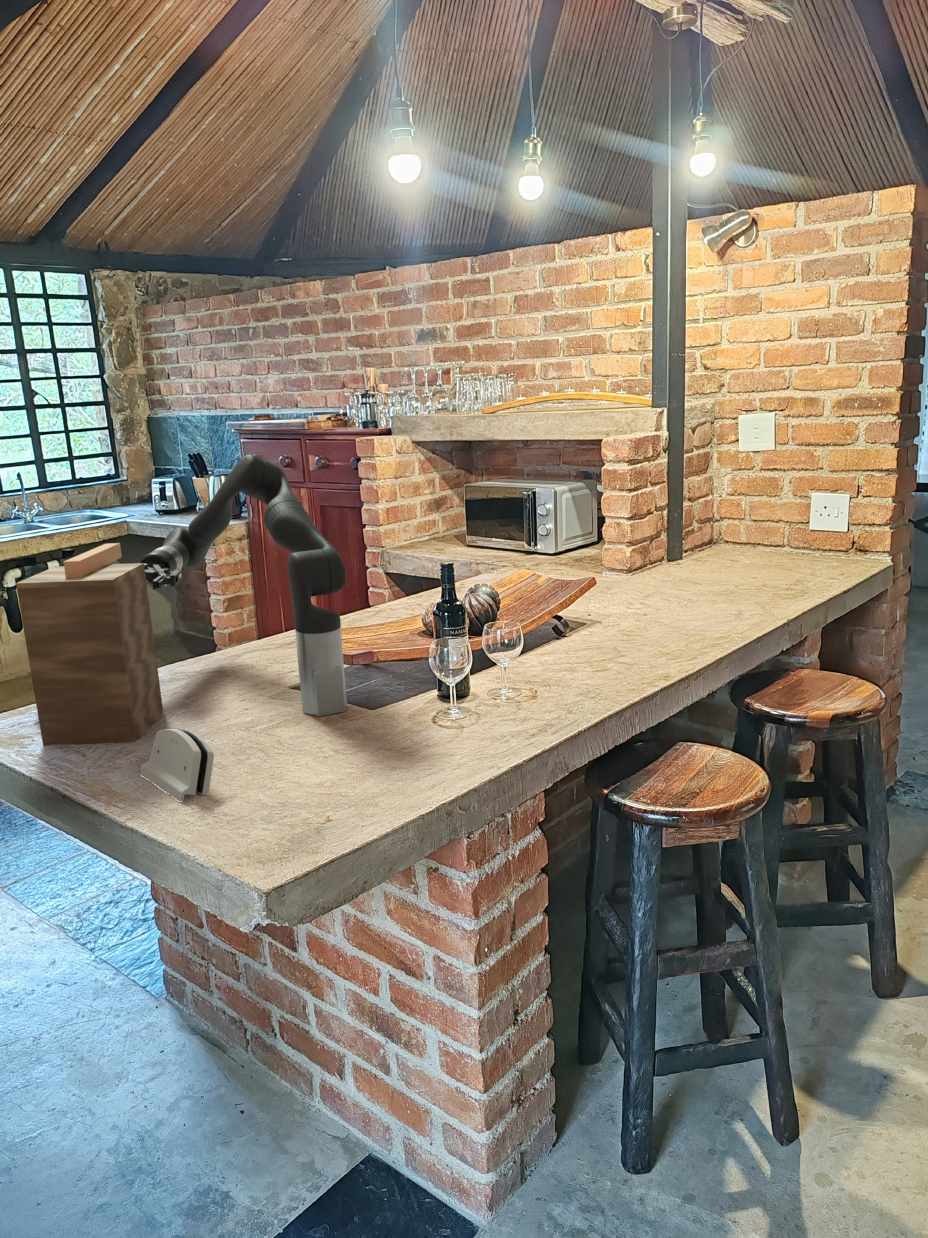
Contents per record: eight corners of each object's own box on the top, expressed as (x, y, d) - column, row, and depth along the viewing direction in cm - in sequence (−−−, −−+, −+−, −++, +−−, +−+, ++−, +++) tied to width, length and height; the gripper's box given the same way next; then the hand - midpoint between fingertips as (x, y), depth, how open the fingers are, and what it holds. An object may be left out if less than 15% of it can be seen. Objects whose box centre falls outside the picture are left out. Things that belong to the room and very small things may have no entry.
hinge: (138, 774, 159) (150, 719, 159) (164, 775, 163) (175, 721, 162) (180, 804, 147) (193, 743, 147) (207, 804, 150) (219, 745, 150)
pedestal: (78, 716, 190) (55, 566, 182) (163, 713, 190) (143, 563, 182) (43, 745, 175) (16, 583, 167) (135, 742, 174) (112, 579, 166)
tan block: (107, 557, 190) (105, 543, 189) (121, 557, 190) (120, 543, 189) (65, 577, 170) (63, 561, 170) (81, 576, 170) (79, 561, 170)
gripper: (131, 546, 212) (101, 564, 196) (191, 551, 211) (167, 570, 196) (132, 577, 214) (103, 597, 199) (192, 582, 214) (167, 603, 198)
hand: (135, 583), depth 197 cm, fingers open, 8 cm apart
